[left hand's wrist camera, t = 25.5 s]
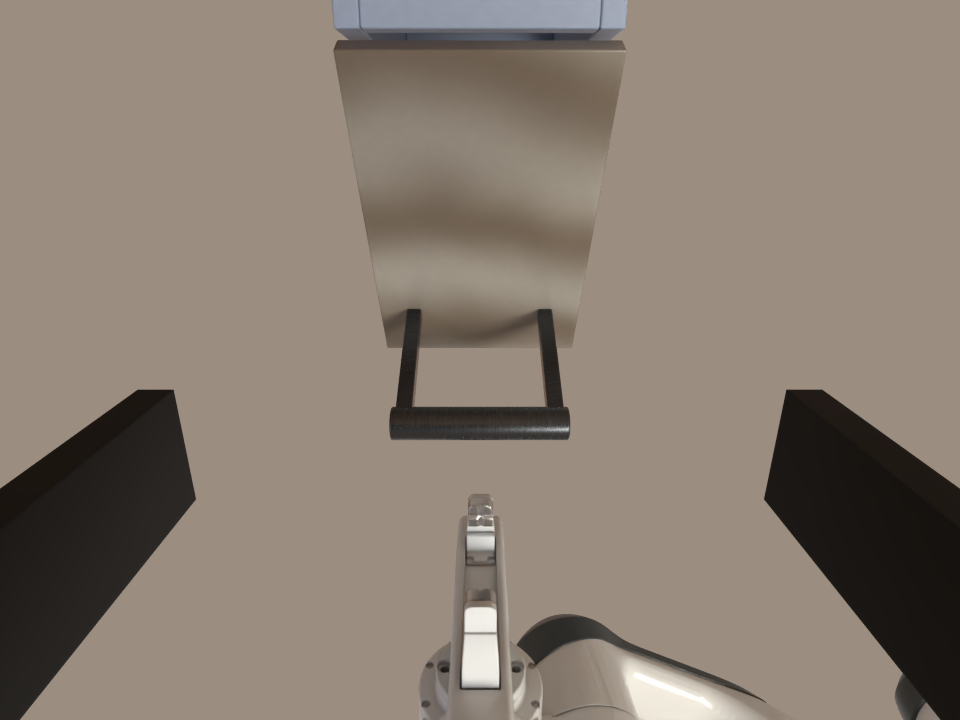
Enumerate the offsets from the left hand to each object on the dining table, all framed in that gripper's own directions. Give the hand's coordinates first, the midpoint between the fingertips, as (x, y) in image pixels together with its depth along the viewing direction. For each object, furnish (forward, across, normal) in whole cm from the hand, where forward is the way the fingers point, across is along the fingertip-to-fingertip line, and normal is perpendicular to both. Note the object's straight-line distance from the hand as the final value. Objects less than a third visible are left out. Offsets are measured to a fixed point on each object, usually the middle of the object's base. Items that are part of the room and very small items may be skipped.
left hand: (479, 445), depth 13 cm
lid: (+15, 0, -3) cm, 15 cm away
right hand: (+19, 0, +18) cm, 26 cm away
